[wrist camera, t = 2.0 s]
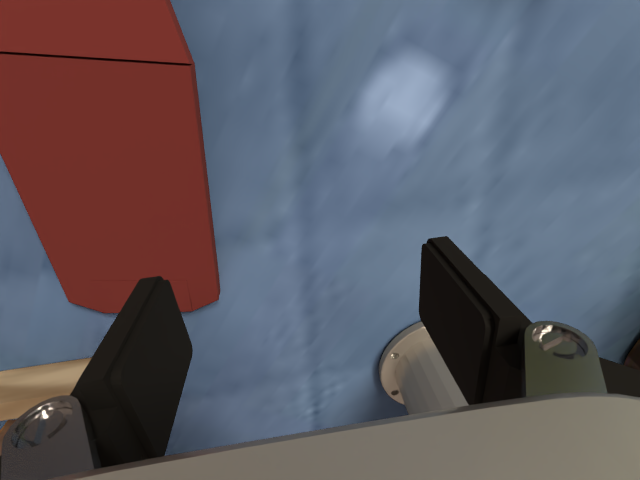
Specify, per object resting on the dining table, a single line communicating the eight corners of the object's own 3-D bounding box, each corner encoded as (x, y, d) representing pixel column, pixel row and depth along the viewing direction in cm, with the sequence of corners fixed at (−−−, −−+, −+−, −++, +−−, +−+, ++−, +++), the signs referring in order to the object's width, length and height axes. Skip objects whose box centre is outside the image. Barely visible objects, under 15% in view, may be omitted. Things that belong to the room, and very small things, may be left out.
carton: (225, 274, 36) (194, -40, 21) (219, 310, 32) (176, -45, 17) (97, 275, 34) (-30, -62, 20) (73, 313, 30) (-106, -74, 16)
